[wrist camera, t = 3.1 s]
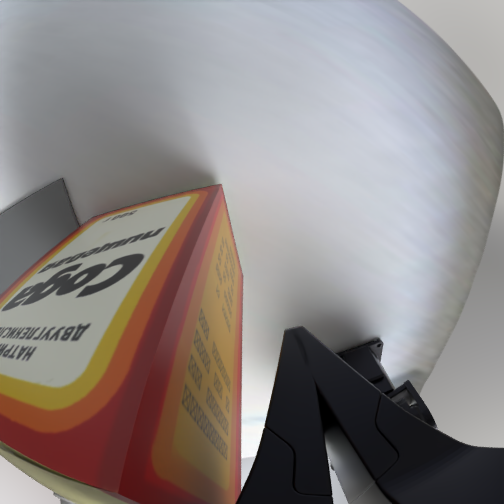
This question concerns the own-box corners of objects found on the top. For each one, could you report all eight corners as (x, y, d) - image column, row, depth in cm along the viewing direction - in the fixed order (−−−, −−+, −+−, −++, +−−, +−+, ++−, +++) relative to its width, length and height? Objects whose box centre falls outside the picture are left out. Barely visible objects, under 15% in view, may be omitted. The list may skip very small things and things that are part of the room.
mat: (133, 335, 21) (132, 337, 21) (26, 347, 21) (25, 349, 21) (62, 178, 15) (60, 178, 15) (-33, 238, 15) (-35, 239, 15)
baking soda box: (124, 295, 19) (35, 484, 5) (92, 217, 16) (-73, 389, 2) (243, 276, 19) (241, 541, 4) (221, 183, 16) (113, 517, 1)
